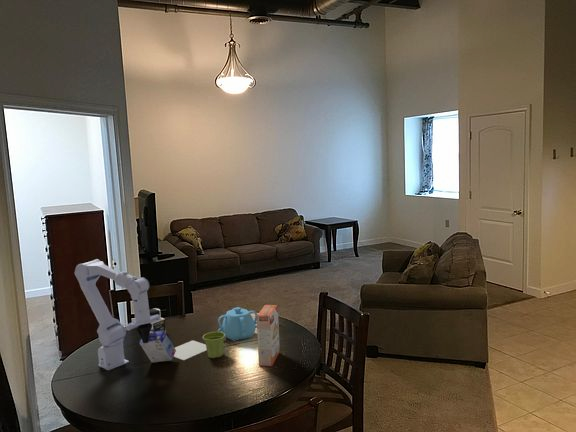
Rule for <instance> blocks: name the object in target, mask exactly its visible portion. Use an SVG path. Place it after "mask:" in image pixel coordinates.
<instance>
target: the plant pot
mask: <svg viewBox="0 0 576 432" xmlns="http://www.w3.org/2000/svg"><path fill="white" fill-rule="evenodd" d="M225 337H226V336H225V333H223V332H222V331H220V332H218V331H210V332H207V333H205V334H203V336H202V340H203V341H204V344H205V345H206V349H207V351H206V352H207V356H208V358H209V359H216V358H220V357H222V356H223V354H224V340H225Z"/></svg>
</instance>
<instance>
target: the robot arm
mask: <svg viewBox="0 0 576 432" xmlns="http://www.w3.org/2000/svg"><path fill="white" fill-rule="evenodd" d="M74 276H75V277H76V279H77V281H78V284H79V287H80V289H81V291H82V292H83V293H82V294H83V295H84V297H85V298H86V300H87V302H88V305H89V306H90V309H91V311H92V312H93V314H94V316H95V317H96V320H97V322H98V324H99V325H98V328H97V330H96V332H97V334H98V340H99V342H100V343H101V346H100V347H99V348H98V349H97V355H98V356H97V359H98V367H100V368H103V369H104V370H106V371H110V370H114V369H115V368H118V367H120V366H123V365H125V364H128V363H129V362H130V361H129V360H128V359H126V358H125V352H124V340H125V336H126V335H127V331H128V332H129V331H131V330H132V329H134V330H136V332H137V333H138V334H139V336H140V338H141V339H142V341H143V343H148V340H149V334H150V331H151V328H152V324H150V323H151V322H153V321H156V320H160V318H161V317H160V315H154V316H150V312H149V310H150V306H149V297H148V290H149V289H150V282H149V280H148V279H147V278H145V277H144V276H143V277H138V276H136V275H133V274H130V273H128V271H126V270H125V271H120V272H118V271H116V269H113V268H112V267H110V266H108V265H106V264H105V263H104V261H103V260H102V261H101V260H100V259H98V258H96V259H93V260H91V261H88V262H84V263H78V264H76V266H75V269H74ZM101 276H102V277H105V278H108V279H110V280H113V281H114V282H115V284H116V285H117V286H119V287H121V288H123V289H125V290H127V292H128V293H129V294H130V298H131V300H132V306H133V313H134V314H133V315H134V321H132V322H130V323H128V324H125V325H123V324H122V323H121V321H120V320H119V319H117V318H114V317H113V316H112V314H111V312H110V310H109V308H108V306H107V305H106V303H105V301H104V299H103V297H102V295H101V293H100V291H99V289H98V287H97V285H96V283H97V281H98V280H99V278H100V277H101ZM141 339H140V340H141Z"/></svg>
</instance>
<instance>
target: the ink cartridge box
mask: <svg viewBox="0 0 576 432" xmlns="http://www.w3.org/2000/svg"><path fill="white" fill-rule="evenodd" d="M151 331H152V332H151V333H150V334H149V340H148V343H143V341H142V339H140V340H139V342H138V343H139V345H140V347H142V350H143V351H144V353H145V354H146V356H147V357H148V359H149V360H150V363H159V362H160V363H161V362H169V361H172V360H173V359H174V358H175V357H174V355H175V352H176V350H175V347H174V345H173V343H172V341H171V340H170V338H169V337H168V335H167V332H166V333H165V331H157V332H155V330H154V329H151Z"/></svg>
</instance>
